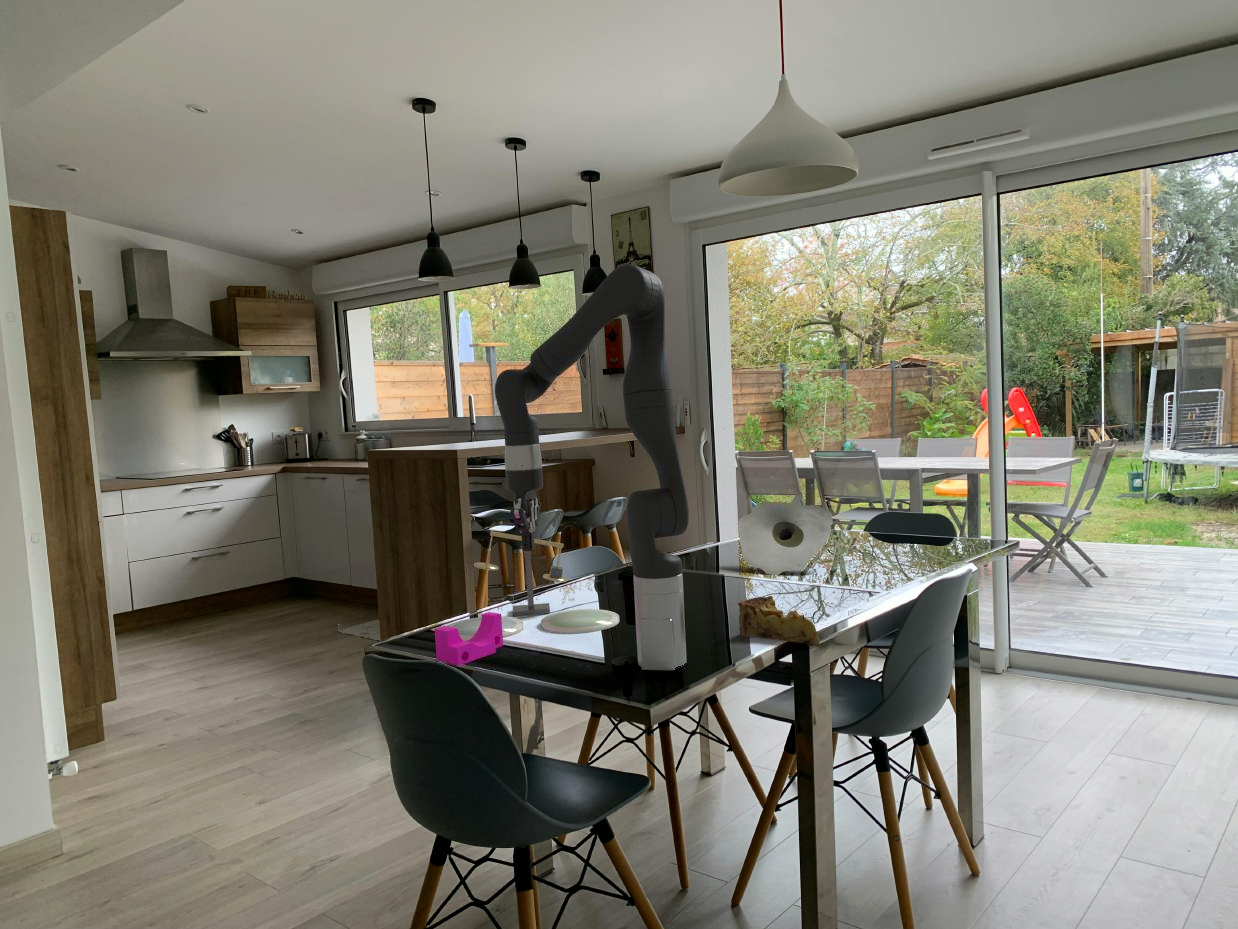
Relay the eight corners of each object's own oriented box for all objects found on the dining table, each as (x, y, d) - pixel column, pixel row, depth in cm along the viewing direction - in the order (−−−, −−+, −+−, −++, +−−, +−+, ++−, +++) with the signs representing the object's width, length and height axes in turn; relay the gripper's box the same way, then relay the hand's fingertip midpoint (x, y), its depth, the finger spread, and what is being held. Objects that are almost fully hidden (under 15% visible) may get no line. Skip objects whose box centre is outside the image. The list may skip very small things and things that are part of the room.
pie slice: (735, 639, 184) (733, 601, 183) (768, 629, 190) (767, 592, 189) (802, 656, 169) (800, 615, 169) (835, 645, 176) (834, 606, 175)
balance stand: (513, 610, 218) (508, 543, 217) (549, 607, 219) (545, 541, 218) (512, 616, 212) (508, 547, 211) (550, 613, 213) (546, 545, 212)
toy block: (458, 670, 172) (455, 632, 172) (437, 665, 176) (434, 629, 176) (511, 650, 184) (509, 615, 184) (490, 646, 188) (488, 611, 187)
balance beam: (474, 563, 216) (481, 526, 216) (566, 578, 219) (573, 542, 218) (473, 567, 210) (480, 529, 210) (567, 583, 213) (574, 546, 212)
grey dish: (507, 643, 189) (507, 637, 188) (430, 642, 193) (429, 636, 193) (534, 621, 206) (533, 616, 206) (462, 621, 210) (462, 615, 210)
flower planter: (817, 602, 254) (724, 577, 265) (844, 510, 264) (753, 490, 275) (813, 584, 240) (715, 558, 251) (842, 488, 251) (747, 467, 262)
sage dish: (609, 635, 191) (608, 629, 191) (530, 634, 195) (530, 628, 195) (626, 614, 208) (626, 609, 208) (554, 613, 212) (554, 608, 212)
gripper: (530, 469, 173) (536, 556, 174) (550, 463, 186) (555, 544, 187) (494, 470, 174) (500, 556, 176) (516, 464, 187) (521, 544, 189)
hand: (528, 550), depth 181 cm, fingers closed
